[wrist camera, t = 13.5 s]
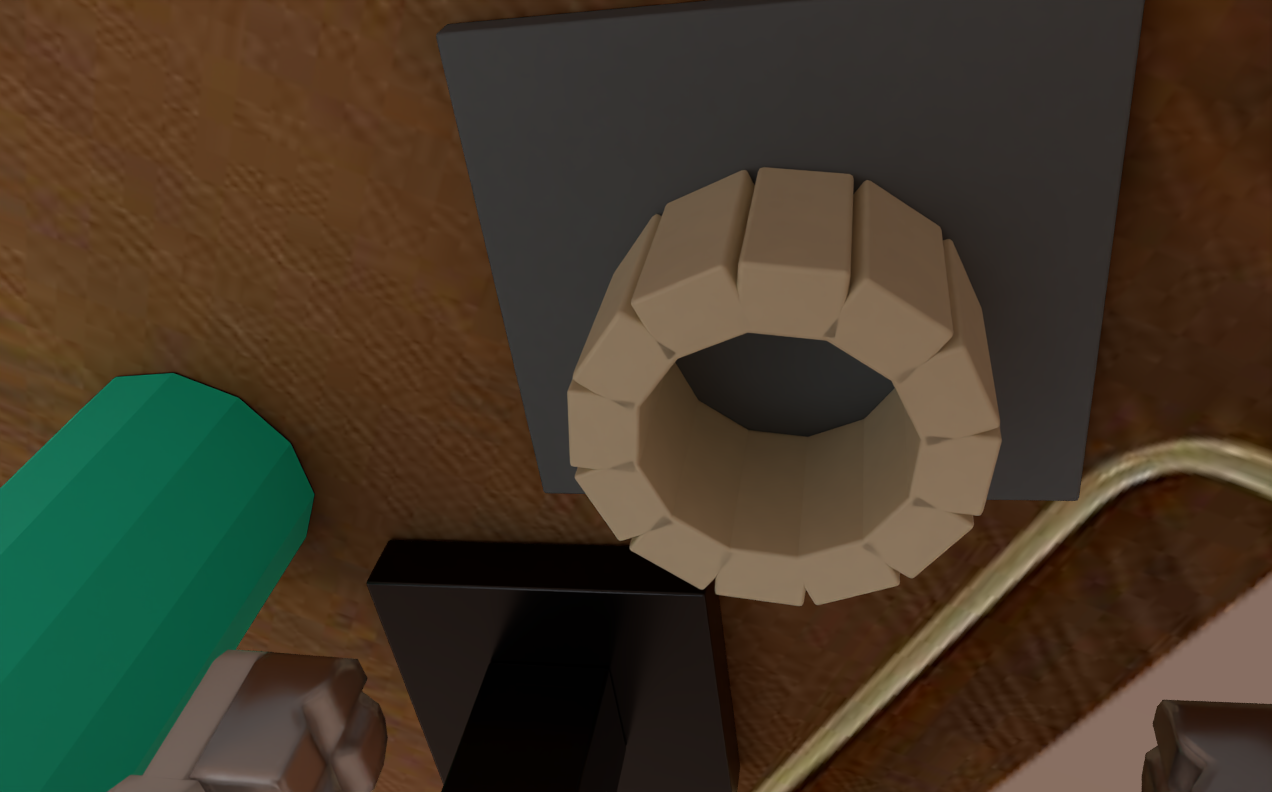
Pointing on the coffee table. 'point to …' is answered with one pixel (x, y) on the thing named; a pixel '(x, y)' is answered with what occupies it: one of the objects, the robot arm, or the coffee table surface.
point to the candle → (133, 573)
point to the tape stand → (559, 667)
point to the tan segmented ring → (779, 463)
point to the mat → (813, 141)
